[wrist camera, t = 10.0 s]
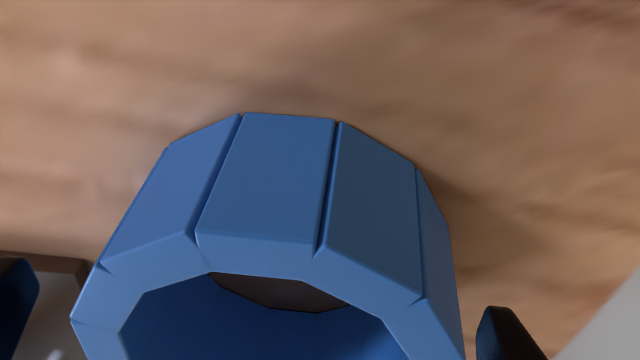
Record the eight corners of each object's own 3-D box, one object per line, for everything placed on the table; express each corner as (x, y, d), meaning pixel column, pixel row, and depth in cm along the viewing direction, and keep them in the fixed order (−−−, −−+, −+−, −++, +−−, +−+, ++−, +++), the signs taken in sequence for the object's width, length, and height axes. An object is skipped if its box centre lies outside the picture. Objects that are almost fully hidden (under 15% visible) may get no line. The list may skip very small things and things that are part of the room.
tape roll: (418, 343, 20) (425, 472, 16) (170, 316, 21) (122, 434, 17) (475, 128, 14) (508, 261, 10) (113, 99, 14) (14, 213, 10)
